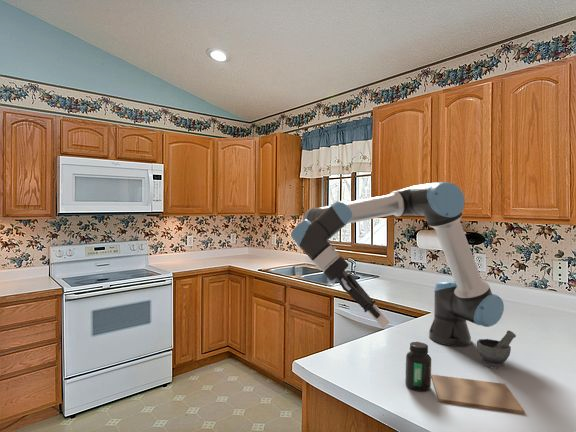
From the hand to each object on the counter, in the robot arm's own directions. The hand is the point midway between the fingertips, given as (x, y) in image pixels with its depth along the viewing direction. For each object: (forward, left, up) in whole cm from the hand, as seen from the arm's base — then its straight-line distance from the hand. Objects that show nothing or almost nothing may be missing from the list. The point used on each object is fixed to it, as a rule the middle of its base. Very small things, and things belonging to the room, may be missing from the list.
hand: (386, 324), depth 106 cm
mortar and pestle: (+12, +41, -17) cm, 46 cm away
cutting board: (+18, +15, -17) cm, 29 cm away
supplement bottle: (+7, +6, -17) cm, 19 cm away
